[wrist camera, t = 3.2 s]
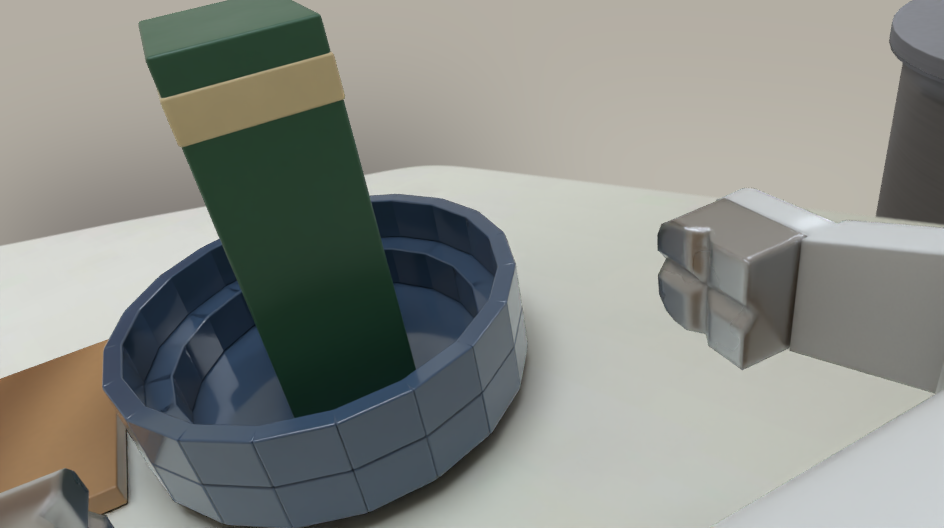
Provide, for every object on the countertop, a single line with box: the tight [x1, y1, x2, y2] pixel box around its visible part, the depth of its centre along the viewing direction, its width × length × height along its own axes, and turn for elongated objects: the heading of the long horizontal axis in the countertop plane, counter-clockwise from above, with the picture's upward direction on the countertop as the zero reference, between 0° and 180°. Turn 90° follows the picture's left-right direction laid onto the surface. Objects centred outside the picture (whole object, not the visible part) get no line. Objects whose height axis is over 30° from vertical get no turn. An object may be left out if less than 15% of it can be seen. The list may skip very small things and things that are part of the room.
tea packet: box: [139, 0, 416, 418], centre depth 21 cm, size 4×6×12 cm
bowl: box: [102, 194, 528, 528], centre depth 23 cm, size 13×13×4 cm
